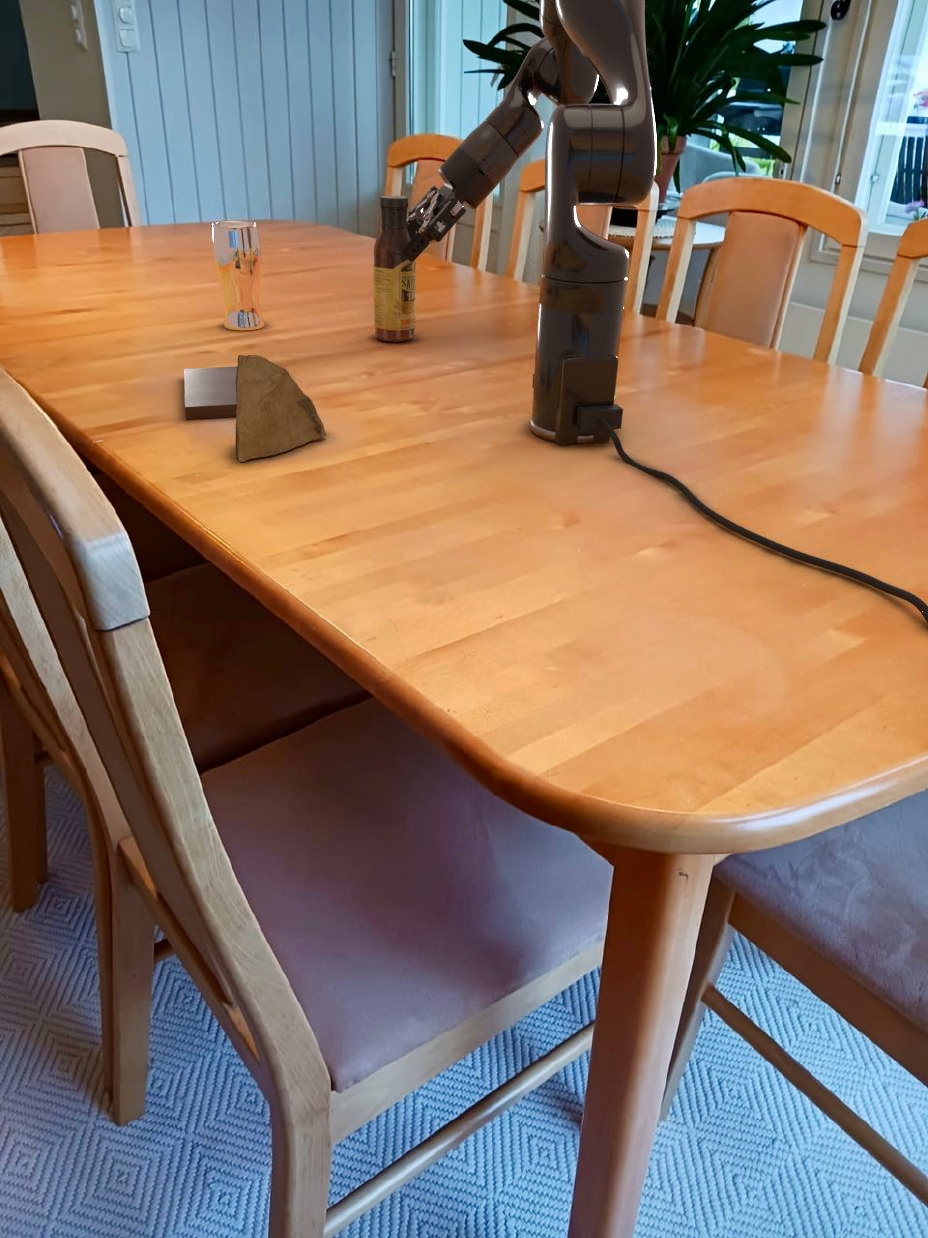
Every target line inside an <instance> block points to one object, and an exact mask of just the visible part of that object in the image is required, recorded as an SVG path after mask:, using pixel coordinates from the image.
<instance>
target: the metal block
mask: <svg viewBox="0 0 928 1238" xmlns="http://www.w3.org/2000/svg"><path fill="white" fill-rule="evenodd" d="M183 369H184V371H183V372H184V373H183V375H184V377H183V378H184V412H185V413H184V414H185V419H186V420H200V419H201V420H203V419H217V418H219V419H220V418H221V419H222V418H237V417H236V408H237V403H236V397H237V393H236V373H237V366H219V367H215V366H214V367H197V368H196V367H195V368H194V367H193V368H183Z"/></svg>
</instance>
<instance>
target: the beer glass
mask: <svg viewBox="0 0 928 1238" xmlns="http://www.w3.org/2000/svg"><path fill="white" fill-rule="evenodd" d="M211 226H212V249H213V259H214V264H215V269H216V273H217V277H218V281H219V284H220V288H221V291H222V295H223V301H224V319H223V321H224V323H223V326H224V328H225V329H227V330H229V331H238V332H239V331H241V332H246V331H254V330H255V331H256V330H260V329H262V328H263V327H264V326H265V323H264V317H263V315H262V311H261V305H260V304H261V303H260V290H261V277H262V251H261V243H260V235H259V230H258V223H257V222H255V221H251V220H220V221H216V222H215V221H214V222H213V223H212V224H211Z"/></svg>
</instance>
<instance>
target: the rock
mask: <svg viewBox="0 0 928 1238" xmlns="http://www.w3.org/2000/svg"><path fill="white" fill-rule="evenodd" d="M236 367H237V373H236V393H237V397H236V403H237V408H236V417H235V420H236V421H235V445H234V446H235V456H236V459H238V462H240V463H245V462H247V461H248V460H251V459H258V458H266V457H271V456H276V455H279V454H282V453H285V452H287V451H290V450H293V449H294V448H297V447H301V446H303V445H305V444H307V443H309V442H313V441H316V440H318V439H322V438H323V437H326V436H327V432H326V430H325V425H324V423H323V421H322V419H321V417H320V414H319V413H318V411H317V408H316V406H315V404H314V401H313V400H312V399H311V398H310V397H309V396H308V395H307V394H305V392H304V391H303V390H302V389H301V388H300V386H299V385H298V383H297V382H296V381H295V380H294V378H292V376H291V373H290V372H289V370H288V369H286V368H285V367H283V366H280V365H279V364H277V363H275V362H273V361H270V360H269V359H267V358H266V357H264V356H261V355H258V354H247V355H244V354H238V356H237V366H236Z"/></svg>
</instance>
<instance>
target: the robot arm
mask: <svg viewBox="0 0 928 1238" xmlns="http://www.w3.org/2000/svg"><path fill="white" fill-rule="evenodd" d="M645 2H646V1H645V0H539V17H538V19H539V27H540V30H541V32H542V34H543V35H544V37H542V38H541V39H539V40H538V41H536V42H535V44H534V45H532V47H531V48H530V49H529V50H528V52H527V54H526V56H525V57H524V59H523V62H522V63H521V66H520V68H519V70H518V71H517V73H516V74H515V77H514V79H513V81H512V82H511V85H510V86H509V88H508V90H507V92H506V94H505V95H504V97H503V99H502V100H501V101H500V102H499V103H498V104H497V106H495V108H494V109H493V110H492V111H491V112H490V113H489V114H488V116H486V118H485V119H484V120H483V121H482V122H481V123H480V124H479V125H478V126H476V128H474V129H473V130H472V131H471V132H469V134H468V135H467V136H466V137H465V139H463V140H462V142H461V143H460V144H459V145H458V146H457V147H456V149H454V151H453V152H452V153H451V154H450V155H449V156H448V157H447V158H446V160H445V161H444V162H442V164H441V166H440V167H439V168H438V171H437V172H438V175H439V176H440V178H441V180H442V181H444V184H443V185H442V186H440V188H438V187H437V185H432V186H431V187H430V188H429V190H428V191H427V192H426V193H425V194H424V195H423V196H422V198H421V199H419V200H418V201H417V202H416V204H415V205H414V206H413V207H412V208H411V209H410V210H409V211H407V226H408V228H407V230H408V234H409V237H410V241H409V242H408V243H407V244H406V245H405V246H404V248H403V249H402V254H403V255H404V256H405V257H406V258H407V259H408V260H409V261H410V262H413V261H415V259H416V260H417V259H418V258H419V256H420V255H422V253H423V252H424V251H425V250H426V249H427V248H428V246H429V245H430V244H434V243H439V242H441V241H442V240H443V238H444V237H445V236H446V235H447V234H448V233H449V232H450V230H451V229H452V228H453V227H454V226H455V225H456V224H457V223H458V221H459V220H461V218H462V217H463V216H464V215H465V214H466V212H467V208H469V209H470V210H476V209H477V208H478V207H479V206H480V205H481V204H482V203H483V202H484V201H485V200H486V198H488V196H489V195H490V194H491V193H492V192H493V191H494V190H495V189H496V187H498V186H499V184H500V183H501V182H502V181H503V180H504V179H505V178H506V177H507V176H508V175H509V173H510V171H511V170H512V169H513V167H515V164H516V163H517V162H518V160H520V159H521V158H522V157H523V155H524V154H525V153H526V152H527V151H528V150H529V149H530V148H531V147H532V145H533V144H534V143H535V142H536V141H537V140H538V139H539V138H540V136H541V135H542V133H543V130H544V122H543V119H542V117H541V115H540V113H539V112H538V110H537V109H536V103H537V102H538V99H539V97H540V96H541V95H543V96H544V97H545V98H547V99H548V100H549V101H550V102H551V103H553V104H554V105H555V106H556V107H555V109H554V110H553V111H552V113H551V116H550V118H549V121H548V125H547V130H546V137H545V138H546V139H545V151H544V152H545V154H544V215H543V216H544V218H543V233H542V249H541V250H542V251H541V263H540V279H539V296H538V297H539V298H538V309H537V310H538V311H537V325H536V326H537V327H536V339H535V340H536V342H535V358H534V371H533V372H534V373H533V374H532V407H531V417H530V423H529V424H530V425H529V428H530V431H531V432H532V433H533V434H534V435H536V436H538V437H540V438H542V439H545V440H549V441H553V442H554V443H556V444H557V445H561V446H562V445H576V444H591V443H604V442H610V441H612V442H613V446H614V448H615V451H616V453H617V455H618V456H619V457H620V458H621V459H622V460H623V462H625V463H626V464H628V465H629V466H631V467H634V468H635V469H638V470H640V471H642V472H644V473H646V474H648V475H649V476H652V477H654V478H658V479H661V480H663V481H665V482H667V483H670V484H671V485H672V486H674V487H675V488H676V489H678V490H679V491H680V492H681V493H682V494H683V495H684V496H685V497H686V498H687V499H688V500H689V501H690V503H691V504H692V505H693V506H695V507H696V509H698V510H699V511H701V512H702V513H703V514H704V515H705V516H707V517H709V518H710V519H712V520H713V521H714V522H716V523H718V524H719V525H721V526H723V527H725V528H726V529H728V530H730V531H732V532H734V533H736V534H738V535H740V536H742V537H744V538H745V539H748V540H750V541H753V542H755V543H757V544H759V545H761V546H764V547H766V548H768V549H770V550H773V551H775V552H776V553H777V552H778V553H780V554H782V555H784V556H786V557H789V558H792V559H795V560H797V561H801V562H803V563H807V564H809V565H813V566H816V567H819V568H822V569H826V570H829V571H831V572H834V573H838V574H841V575H844V576H846V577H848V578H851V579H854V580H857V581H859V582H862V583H864V584H866V585H868V586H871V587H872V588H874V589H877V590H879V591H881V592H884V593H886V594H888V595H891V596H894V597H896V598H898V599H901V600H904V601H906V602H908V603H909V604H911V605H913V606H914V608H916V609H917V610H918V611H919V613H920V614H921V615H922V617H923V619H924V620H925V622H926V624H927V625H928V604H927V603H926V602H925V601H924V600H923V599H921V598H920V597H918V596H917V595H915V594H914V593H912V592H910V591H908V590H906V589H903V588H900V587H897V586H895V585H892V584H889V583H887V582H885V581H883V580H880V579H878V578H876V577H873V576H872V575H870V574H867V573H865V572H863V571H860V570H858V569H854V568H852V567H850V566H846V565H843V564H839V563H836V562H834V561H831V560H827V559H824V558H820V557H817V556H814V555H812V554H808V553H806V552H802V551H800V550H797V549H794V548H791V547H789V546H787V545H783V544H782V543H780V542H777V541H775V540H772V539H770V538H767V537H765V536H763V535H760V534H758V533H756V532H754V531H751V530H749V529H747V528H745V527H743V526H741V525H740V524H737V523H736V522H733V521H732V520H730V519H728V518H726V517H724V516H722V515H721V514H720V513H718V512H716V511H715V510H713V509H711V508H710V507H709V506H707V505H706V504H705V503H703V502H702V501H701V500H700V499H699V498H698V497H697V496H696V495H695V493H693V492H692V490H691V489H690V488H689V487H688V486H686V485H685V484H684V483H683V482H682V481H680V480H678V479H677V478H676V477H674V476H672V475H671V474H669V473H667V472H664V471H662V470H659V469H654V468H651V467H649V466H645V465H642V464H640V463H638V462H637V461H636V460H634V459H632V457H630V456H629V455H628V454H627V452H625V449H624V448H623V446H622V442H621V440H620V438H619V435H618V434H617V433H616V431H615V430H621V429H622V424H623V423H622V422H623V414H624V408H622V407H621V406H620V405H619V404H617V403H615V399H616V388H617V378H618V372H619V371H618V370H619V363H620V362H619V359H620V349H621V340H622V339H621V338H622V329H623V321H624V312H625V303H626V294H627V284H628V277H629V276H628V275H629V266H630V254H629V251H628V250H627V248H625V247H624V246H623V245H621V244H619V243H617V242H615V241H613V240H609V239H607V238H604V237H602V236H599V235H598V234H596V233H594V232H593V231H591V230H589V229H588V228H587V227H586V226H585V225H583V224H582V223H581V222H580V221H579V219H578V216H577V208H578V207H612V208H613V207H614V208H615V207H619V208H621V207H632V206H637V205H640V204H642V203H643V202H644V201H646V199H647V198H648V197H649V196H650V193H651V191H652V188H653V185H654V182H655V178H656V177H655V176H656V170H657V159H658V158H657V157H658V156H657V154H658V152H657V151H658V150H657V149H658V148H657V145H658V144H657V128H656V119H655V112H654V111H655V110H654V104H653V96H652V89H651V88H652V87H651V82H650V81H651V80H650V74H649V66H648V58H647V57H648V56H647V43H646V16H645V15H646V14H645V12H646V11H645V7H646V5H645ZM599 78H600V80H601V82H602V84H603V87H604V88H605V90H606V93H607V95H608V99H609V101H610V103H590V102H591V100H592V98H593V97H594V94H595V92H596V90H597V86H598V82H599ZM464 205H465V206H467V208H466V207H465V206H464ZM922 611H923V612H922Z"/></svg>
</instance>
